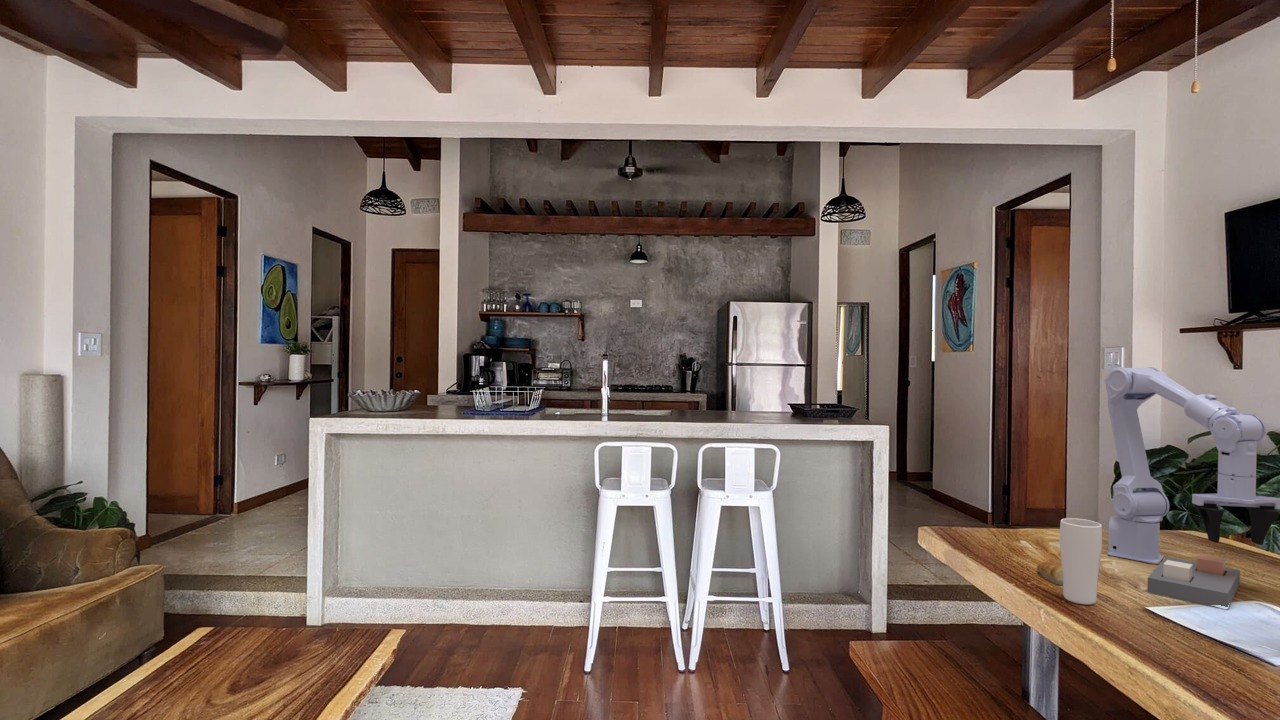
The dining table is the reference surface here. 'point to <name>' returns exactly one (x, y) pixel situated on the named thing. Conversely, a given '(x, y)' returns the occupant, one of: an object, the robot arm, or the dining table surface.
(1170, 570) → the white key
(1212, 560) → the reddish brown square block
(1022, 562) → the dining table surface
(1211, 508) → the robot arm
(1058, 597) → the dining table surface
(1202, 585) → the key panel
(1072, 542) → the drinking glass
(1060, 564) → the pastry
